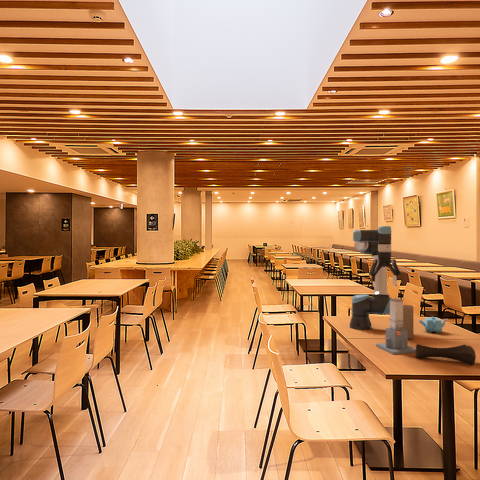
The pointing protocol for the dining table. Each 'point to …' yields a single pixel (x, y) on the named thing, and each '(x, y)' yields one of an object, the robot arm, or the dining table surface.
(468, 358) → the dark brown bone
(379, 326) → the dining table surface
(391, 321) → the column
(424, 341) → the dining table surface
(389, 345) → the stand base
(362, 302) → the robot arm
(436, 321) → the teapot
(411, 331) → the wooden block
